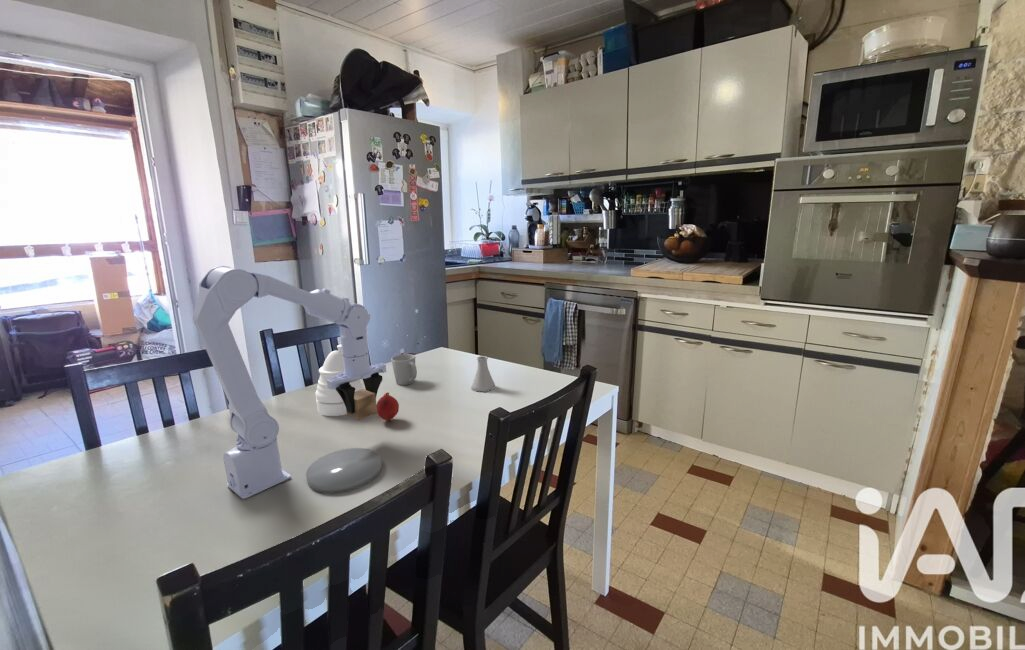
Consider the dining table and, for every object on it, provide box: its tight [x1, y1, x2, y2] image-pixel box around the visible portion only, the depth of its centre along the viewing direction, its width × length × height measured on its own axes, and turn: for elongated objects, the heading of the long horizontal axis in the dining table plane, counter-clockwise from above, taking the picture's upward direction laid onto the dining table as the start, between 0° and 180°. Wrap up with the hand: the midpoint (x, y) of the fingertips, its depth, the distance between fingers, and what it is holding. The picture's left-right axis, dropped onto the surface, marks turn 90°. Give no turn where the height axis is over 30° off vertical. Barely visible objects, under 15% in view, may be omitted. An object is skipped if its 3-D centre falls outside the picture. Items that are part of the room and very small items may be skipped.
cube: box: [346, 388, 377, 421], centre depth 109 cm, size 5×5×5 cm
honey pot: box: [314, 344, 364, 417], centre depth 129 cm, size 13×13×18 cm
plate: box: [305, 447, 383, 494], centre depth 98 cm, size 15×15×2 cm
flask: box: [470, 355, 496, 393], centre depth 142 cm, size 7×7×10 cm
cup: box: [390, 353, 418, 386], centre depth 147 cm, size 8×10×8 cm
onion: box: [376, 391, 400, 422], centre depth 121 cm, size 6×6×8 cm
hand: (361, 408), depth 110 cm, fingers closed on cube, 5 cm apart
